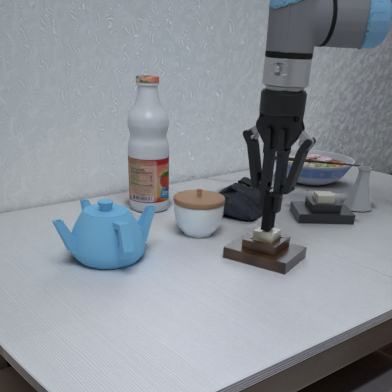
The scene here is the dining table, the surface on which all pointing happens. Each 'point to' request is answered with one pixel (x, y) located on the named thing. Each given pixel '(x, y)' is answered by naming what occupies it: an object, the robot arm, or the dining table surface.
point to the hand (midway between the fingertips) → (267, 228)
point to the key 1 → (267, 235)
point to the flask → (360, 192)
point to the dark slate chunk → (242, 200)
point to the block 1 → (265, 253)
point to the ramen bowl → (321, 167)
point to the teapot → (106, 234)
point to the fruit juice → (148, 148)
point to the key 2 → (324, 197)
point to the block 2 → (321, 212)
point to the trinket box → (198, 211)
